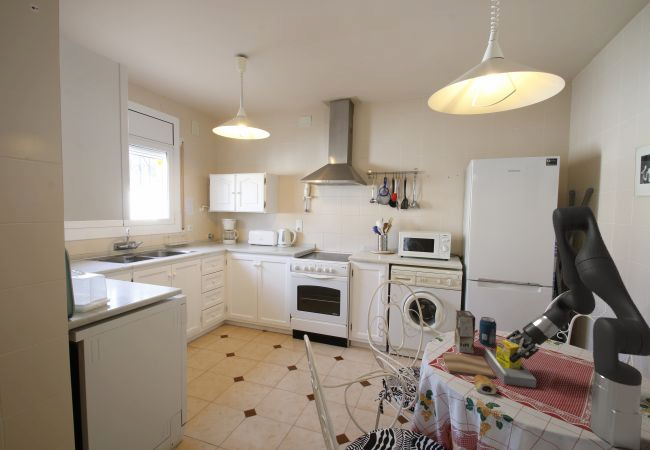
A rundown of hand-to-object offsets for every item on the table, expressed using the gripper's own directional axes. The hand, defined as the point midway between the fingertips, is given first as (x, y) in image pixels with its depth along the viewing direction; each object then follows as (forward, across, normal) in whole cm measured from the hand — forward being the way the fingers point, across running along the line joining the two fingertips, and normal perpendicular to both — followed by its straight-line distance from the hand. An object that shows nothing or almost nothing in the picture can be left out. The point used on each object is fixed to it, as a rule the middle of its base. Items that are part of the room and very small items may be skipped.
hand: (505, 355), depth 112 cm
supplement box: (+4, 0, +5) cm, 6 cm away
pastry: (+13, +14, -4) cm, 20 cm away
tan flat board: (+14, 0, -6) cm, 15 cm away
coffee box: (+12, -16, -3) cm, 20 cm away
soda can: (+4, -23, +5) cm, 24 cm away
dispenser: (+4, 0, +5) cm, 6 cm away
